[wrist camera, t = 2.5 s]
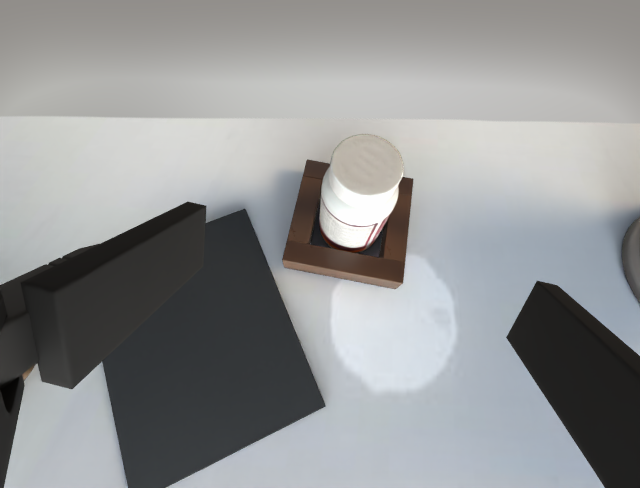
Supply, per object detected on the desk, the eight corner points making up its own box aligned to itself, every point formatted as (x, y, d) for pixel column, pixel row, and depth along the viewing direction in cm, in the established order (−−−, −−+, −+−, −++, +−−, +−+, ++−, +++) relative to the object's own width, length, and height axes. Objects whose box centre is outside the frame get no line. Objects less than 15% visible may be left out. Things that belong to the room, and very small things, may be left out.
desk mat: (325, 405, 26) (325, 406, 26) (134, 502, 24) (131, 505, 23) (245, 210, 32) (245, 208, 32) (86, 269, 30) (83, 268, 29)
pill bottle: (358, 191, 34) (381, 115, 23) (389, 239, 32) (429, 179, 21) (308, 215, 33) (307, 146, 22) (337, 266, 31) (351, 217, 20)
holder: (395, 289, 30) (403, 283, 28) (284, 267, 30) (282, 259, 28) (406, 191, 34) (413, 178, 32) (307, 172, 34) (306, 159, 32)
